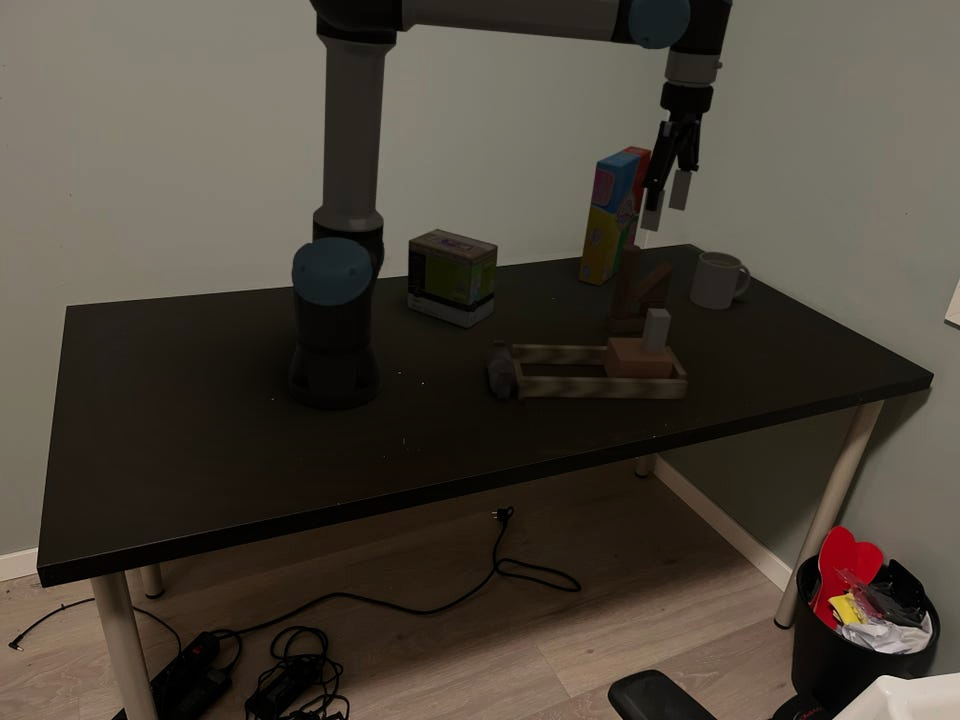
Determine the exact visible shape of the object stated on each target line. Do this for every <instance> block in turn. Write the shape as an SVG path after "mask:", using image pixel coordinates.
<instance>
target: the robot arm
mask: <svg viewBox="0 0 960 720" xmlns="http://www.w3.org/2000/svg"><path fill="white" fill-rule="evenodd" d="M308 1H309V2H310V5H311V6H312V8H313V10H314V11H315V13H316V15H315V16H316V18H315V19H316V21H315V24H316V26H315V30H316V32H315V35H316V36H317V38H318V39H319V40H320V42H322V44H323V45H324V47H325V49H326V51H325V53H326V55H325V56H326V57H325V91H324V92H325V95H324V137H323V140H324V141H323V171H322V172H323V173H322V177H323V178H322V204H321V206H320V207H318V208H317V209H316V210H315V211H314V212H313V213H312V229H311V230H312V231H311V232H312V233H311V234H312V236H311V239H312V240H311V242H306V243H304V244H303V245H302V246H301V247H299V248H298V249H297V250H296V252H295V254H294V256H293V259H292V267H291V273H290V275H291V283H292V287H293V289H292V290H293V301H294V315H295V331H296V347H295V351H294V354H293V356H292V357H293V358H292V360H291V364H290V367H289V370H288V374H287V375H288V376H287V377H288V388H289V392H290V394H291V395H292V396H293V397H294V398H295V399H296V400H297V401H299V402H300V403H302V404H305V405H307V406H308V407H309V406H310V407H314V408H316V409H317V408H318V409H327V410H338V409H339V410H342V409H349V408H352V407H357V406H360V405H363V404H365V403H367V402H370V401H372V399H374V398H375V397H376V396H377V395H378V394H379V393H380V391H381V389H382V387H383V369H382V366H381V363H380V361H379V358H378V356H377V353H376V351H375V348H374V344H373V342H372V299H373V294H374V291H375V287H376V284H377V282H378V279H379V278H378V277H379V275H380V273H381V269H382V267H383V265H384V261H385V255H386V253H385V251H386V250H385V243H384V226H385V225H384V223H385V220H384V217H383V216H382V214H380V213H379V211H378V210H377V209H376V207H377V206H376V205H377V191H378V176H379V175H378V174H379V161H380V143H381V142H380V141H381V127H382V112H383V111H382V110H383V98H384V97H383V95H384V81H385V80H384V79H385V67H386V65H385V64H386V63H385V62H386V56H387V54H388V53H389V52H390V51H391V50H393V48H395V47H396V46H397V40H398V32H402V33H407V32H409V31H410V30H411V29H412V28H413V27H415V26H417V25H418V26H419V25H420V26H430V27H431V26H432V27H443V28H453V29H463V30H465V29H466V30H475V31H486V32H495V33H496V32H498V33H505V34H506V33H507V34H508V33H509V34H519V35H528V36H529V35H531V36H542V37H551V38H552V37H553V38H564V39H574V40H575V39H576V40H585V41H595V42H596V41H597V42H607V43H608V42H609V43H612V44H613V43H614V44H624V45H632V46H633V45H634V46H639V47H641V48H643V49H645V50H662V49H664V50H665V48H666V49H667V48H668V54H667V59H666V65H665V69H664V71H665V72H664V78H665V79H666V80H667V81H665V82H664V83H662V84H663V85H662V90H661V95H660V99H659V100H660V101H659V106H660V107H661V108H662V109H663V110H665V111H669V113H670V114H669V116H668V119H667V120H661V121H660V124H659V129H658V133H657V138H656V140H655V143H654V147H653V150H652V152H651V157H650V162H649V165H648V168H647V171H646V175H645V178H644V181H643V182H642V184H641V187H643V188H645V189H646V192H645V198H644V204H643V210H642V215H641V222H640V227H639V228H640V229H642V230H647V231H651V232H655V233H657V232H658V231H659V227H660V223H661V222H660V221H661V216H662V211H663V205H664V201H665V197H666V196H665V195H666V189H665V186H666V183H667V181H668V178H669V175H670V173H671V171H672V168H673V165H674V163H675V161H676V159H677V167H678V168H677V169H675V171H674V176H673V180H672V187H671V192H670V196H669V202H668V206H667V207H668V209H673V210H677V211H682V212H684V211H685V210H686V207H687V202H688V197H689V190H690V186H691V182H692V181H691V180H692V177H693V176H692V175H693V172H695V173H697V172H698V171H699V168H700V165H699V161H700V159H699V158H700V155H699V154H700V142H701V129H702V128H701V127H702V121H703V117H704V116H703V115H704V114H706V113H708V112H709V111H710V110H711V106H712V105H711V104H712V100H713V96H714V90H715V89H714V87H713V85H711V84H713V83H715V82H716V79H717V74H718V70H721V69H723V62H721V61H720V60H721V54H722V52H723V51H722V50H723V45H724V42H725V36H726V33H727V32H726V31H727V28H728V23H729V19H730V15H731V9H732V7H733V4H734V3H733V1H734V0H308Z"/></svg>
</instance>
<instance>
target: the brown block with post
mask: <svg viewBox="0 0 960 720" xmlns="http://www.w3.org/2000/svg"><path fill="white" fill-rule="evenodd" d="M671 320H672V316H671V314H670V313H669V312H668V310H667V308H664V309H649V308H648V313H647V317H646V322H645V327H644V331H642V332H643V333H642V337H641V338H640V337H608V341H607V344H606V346H607V351H606V357H605V362H604V365H603V369H604V372H605V373H606V376H607V378H639V379H669V377H670V373H671V372H672V364H673V361H672V359H671V357H670V356H669V354H668V353H667V351H666V349H665V348H664V347H665V346H666V341H667V338H668V333H669V329H670V325H671V324H670V323H671Z"/></svg>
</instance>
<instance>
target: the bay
mask: <svg viewBox="0 0 960 720" xmlns="http://www.w3.org/2000/svg"><path fill="white" fill-rule="evenodd" d="M492 343H493V344H492V347H491V348H490V349H488V351H487V352H486V354H485V360H486V361H485V362H486V366H487V372H488V377H489V384H490V389H491V391H492V392H493V393H495V394H496V399H510V397H511V394H512V393H514V391H516V395H517V399H518V401H519V402H520V401H521V402H522V401H523V402H525V401H527V399H526V397H531V398H532V397H534V398H535V397H536V398H537V397H539V398H544V397H546V398H547V397H548V398H589V399H590V398H593V399H594V398H596V399H597V398H599V399H600V398H601V399H602V398H603V399H650V400H651V399H654V400H655V399H656V400H657V399H660V400H664V399H665V400H685V396H686V392H687V388H688V381H687V380H686V379H687V375H688V374H687V372H686V371H685V369H684V368H683V366H682V364H681V362H680V361H679V360H678V358H677V356H676V355H675V353H674V352H673V350H672V349H671V347H670V346H669V345H668V346H667V345H665V347H664V348H665V349H666V351H667V353H668V354H669V356H670V357H671V359H672V361H673V364H672V372H671V373H670V377H669V379H639V378H608V377H586V376H585V377H582V376H580V377H578V376H577V377H575V376H574V377H573V376H538V375H537V376H535V375H533V376H532V375H529V376H528V375H524V374H523V370H522V367H521V364H536V365H537V364H542V365H543V364H544V365H545V364H546V365H549V364H550V365H584V366H586V365H589V366H590V365H591V366H594V365H597V366H604V362H605V357H606V351H607V345H606V346H605V345H603V346H597V345H595V346H594V345H565V344H564V345H559V344H558V345H557V344H556V345H555V344H523V343H522V344H519V343H517V344H514V343H512V345H511V351H510V350H509V348H507V347H506V340H498V339H497V340H496V339H495V340H493V342H492Z"/></svg>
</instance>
